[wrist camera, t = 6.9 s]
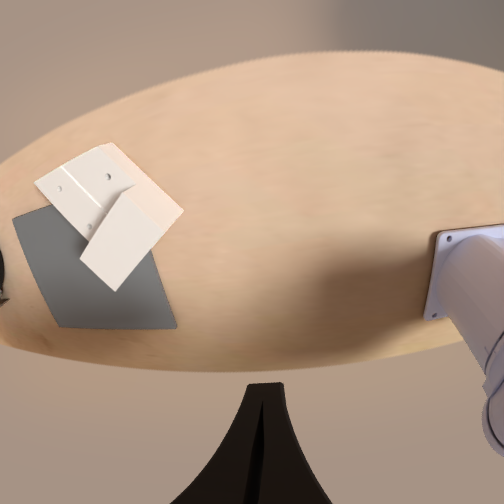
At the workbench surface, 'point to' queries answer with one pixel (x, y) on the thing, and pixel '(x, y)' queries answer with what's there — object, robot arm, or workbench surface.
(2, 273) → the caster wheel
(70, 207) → the white angled block
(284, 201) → the workbench surface
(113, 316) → the rubber mat
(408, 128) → the workbench surface
